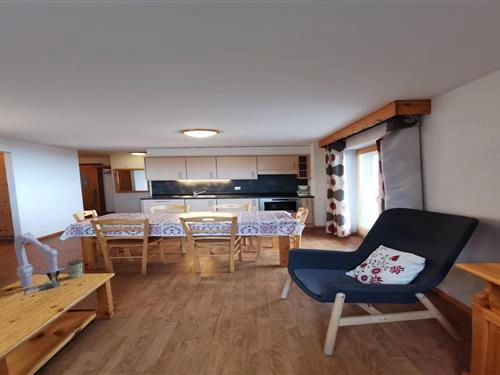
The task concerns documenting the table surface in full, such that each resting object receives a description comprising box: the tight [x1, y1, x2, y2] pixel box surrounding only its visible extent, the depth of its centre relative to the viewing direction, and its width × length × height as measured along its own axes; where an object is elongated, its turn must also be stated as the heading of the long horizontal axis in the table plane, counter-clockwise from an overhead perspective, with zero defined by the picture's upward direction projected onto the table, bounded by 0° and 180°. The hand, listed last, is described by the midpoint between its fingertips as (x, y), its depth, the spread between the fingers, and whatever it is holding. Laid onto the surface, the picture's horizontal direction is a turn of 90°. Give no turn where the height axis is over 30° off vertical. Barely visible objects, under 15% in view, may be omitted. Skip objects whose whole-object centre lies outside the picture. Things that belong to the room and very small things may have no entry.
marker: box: [51, 272, 57, 284], centre depth 202 cm, size 3×3×8 cm
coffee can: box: [67, 259, 84, 280], centre depth 215 cm, size 10×10×14 cm
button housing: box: [44, 283, 55, 291], centre depth 194 cm, size 6×6×2 cm
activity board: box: [23, 280, 61, 296], centre depth 195 cm, size 15×22×1 cm
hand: (53, 280), depth 202 cm, fingers closed on marker, 3 cm apart
